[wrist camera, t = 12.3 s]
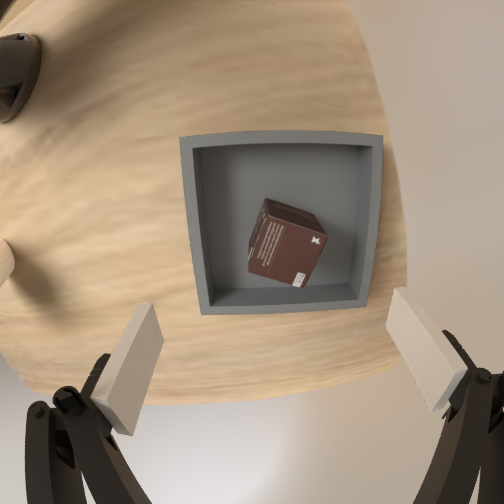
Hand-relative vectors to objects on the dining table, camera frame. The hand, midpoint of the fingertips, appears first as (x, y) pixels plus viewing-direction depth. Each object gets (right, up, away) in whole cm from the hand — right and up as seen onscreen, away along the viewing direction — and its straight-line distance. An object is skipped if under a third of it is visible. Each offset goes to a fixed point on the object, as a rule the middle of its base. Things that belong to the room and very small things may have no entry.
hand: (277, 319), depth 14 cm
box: (+2, +6, +18) cm, 19 cm away
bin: (+2, +7, +18) cm, 20 cm away
